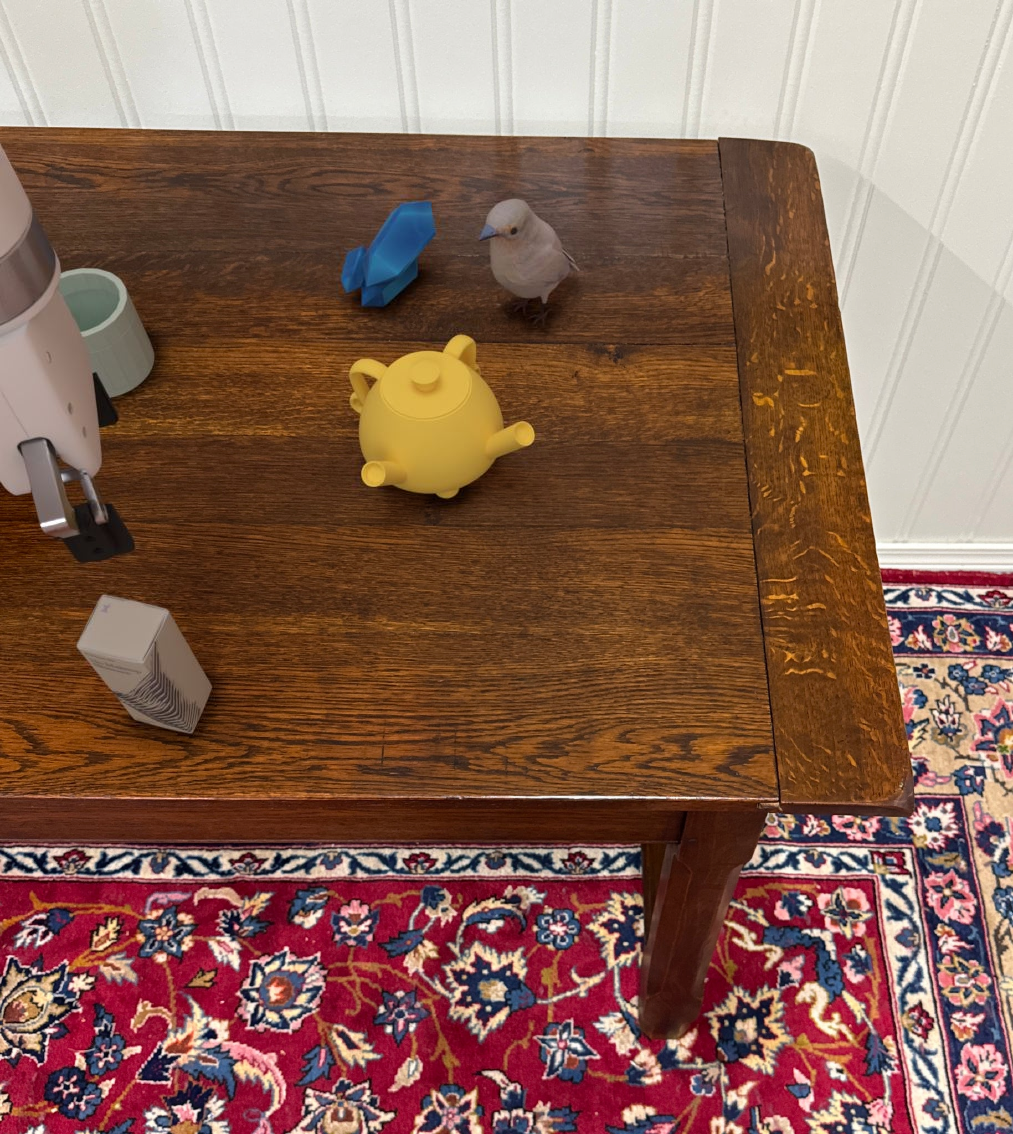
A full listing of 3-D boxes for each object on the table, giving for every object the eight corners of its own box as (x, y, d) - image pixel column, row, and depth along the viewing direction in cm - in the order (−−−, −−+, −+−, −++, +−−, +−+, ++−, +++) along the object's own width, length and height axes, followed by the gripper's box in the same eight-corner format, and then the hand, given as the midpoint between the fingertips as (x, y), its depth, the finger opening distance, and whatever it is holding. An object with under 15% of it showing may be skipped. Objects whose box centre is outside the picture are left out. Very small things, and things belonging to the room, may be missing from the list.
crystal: (313, 257, 93) (384, 164, 95) (340, 311, 101) (405, 223, 103) (376, 287, 91) (447, 191, 93) (399, 339, 99) (463, 250, 101)
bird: (464, 338, 97) (456, 212, 84) (555, 267, 102) (561, 137, 89) (501, 363, 95) (498, 239, 82) (592, 289, 100) (603, 161, 87)
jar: (63, 407, 93) (26, 347, 86) (60, 340, 97) (25, 278, 90) (158, 388, 94) (129, 327, 87) (151, 323, 98) (123, 260, 91)
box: (133, 721, 76) (68, 647, 65) (156, 670, 78) (97, 591, 67) (196, 736, 76) (142, 664, 65) (218, 685, 78) (169, 606, 67)
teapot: (377, 541, 84) (359, 463, 75) (340, 423, 91) (320, 337, 82) (536, 497, 87) (538, 416, 77) (489, 385, 93) (486, 297, 84)
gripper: (-122, 158, 48) (28, 394, 62) (-133, 426, 39) (44, 627, 54) (37, 128, 49) (148, 368, 63) (61, 383, 40) (182, 591, 55)
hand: (100, 486), depth 58 cm, fingers open, 9 cm apart
